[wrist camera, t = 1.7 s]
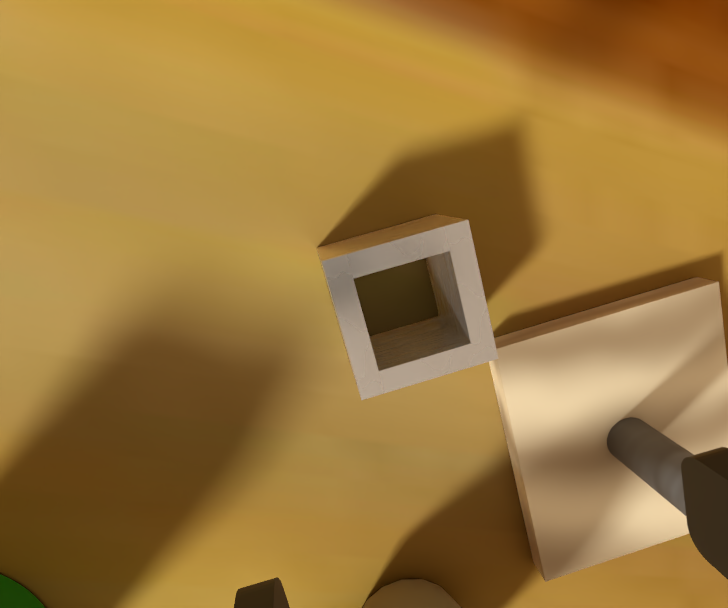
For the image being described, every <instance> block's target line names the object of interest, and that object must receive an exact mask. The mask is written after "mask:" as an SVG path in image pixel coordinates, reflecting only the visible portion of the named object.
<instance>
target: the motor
mask: <svg viewBox="0 0 728 608" xmlns="http://www.w3.org/2000/svg"><path fill="white" fill-rule="evenodd" d="M0 608H45V607H44V606H43V604H42V603H41V602H40V601H39V600H38V599H37V598H36V597H35V596H34V595H33V594H32V593H31V592H29V591H28V590H27V589H26V588H24V587H23V586H21V585H20V584H18V583H17V582H15V581H13V580H11V579H9V578H8V577H5V576H3V575H1V574H0Z"/></svg>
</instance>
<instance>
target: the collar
mask: <svg viewBox="0 0 728 608" xmlns="http://www.w3.org/2000/svg"><path fill="white" fill-rule="evenodd" d="M317 251H318V254H319V258H320V261H321V265H322V268H323V272H324V275H325V279H326V282H327V286H328V289H329V292H330V296H331V299H332V303H333V306H334V310H335V313H336V317H337V320H338V324H339V327H340V330H341V334H342V337H343V341H344V344H345V348H346V351H347V355H348V358H349V362H350V365H351V368H352V371H353V374H354V377H355V381H356V384H357V387H358V390H359V393H360V396H361V399H362V400H364V399H367V398H370V397H374V396H377V395H380V394H384V393H387V392H390V391H394V390H397V389H400V388H403V387H407V386H410V385H413V384H417V383H420V382H423V381H426V380H430V379H433V378H436V377H440V376H443V375H446V374H449V373H453V372H456V371H459V370H463V369H466V368H469V367H472V366H476V365H479V364H482V363H486V362H489V361H492V360H496V359H498V354H497V350H496V345H495V341H494V336H493V331H492V327H491V322H490V317H489V313H488V308H487V304H486V299H485V294H484V290H483V285H482V280H481V276H480V271H479V267H478V262H477V257H476V253H475V248H474V244H473V239H472V234H471V230H470V225H469V220H468V219H462V218H456V217H450V216H444V215H438V214H434V215H431V216H427V217H423V218H420V219H416V220H413V221H409V222H406V223H402V224H399V225H395V226H392V227H388V228H385V229H381V230H377V231H374V232H370V233H367V234H363V235H360V236H356V237H353V238H349V239H346V240H342V241H339V242H335V243H332V244H328V245H324V246H321V247H317ZM423 258H425V259H426V263H427V267H428V272H429V276H430V280H431V284H432V288H433V292H434V297H435V301H436V305H437V309H438V313H439V316H437V317H433V318H430V319H427V320H423V321H420V322H416V323H413V324H410V325H406V326H403V327H400V328H396V329H393V330H389V331H386V332H383V333H379V334H376V335H372V336H369V334H368V330H367V327H366V323H365V320H364V316H363V312H362V309H361V305H360V302H359V298H358V294H357V291H356V287H355V283H354V280H353V279H354V278H357V277H361V276H364V275H368V274H371V273H375V272H378V271H382V270H385V269H389V268H392V267H396V266H399V265H403V264H406V263H409V262H413V261H416V260H420V259H423Z"/></svg>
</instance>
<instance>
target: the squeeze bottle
mask: <svg viewBox="0 0 728 608" xmlns="http://www.w3.org/2000/svg"><path fill="white" fill-rule="evenodd" d="M363 608H461V607H460V606H459V604H458V603H457V602H456V601H455V600H454V599H453V598H452V597H451V596H450V595H449V594H448V593H447V592H446V591H445V590H444V589H443V588H442V587H440V586H439V585H437V584H434V583H431V582H429V581H426V580H423V579H404V580H399V581H397V582H394V583H391V584H389V585H386V586H384V587H382V588H381V589H379V590H378V591H377V592H376V593H375V594H373V595H372V596H371V597H370V598H369V599H368V600H367V601H366V603H365V604H364V606H363Z"/></svg>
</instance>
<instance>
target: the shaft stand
mask: <svg viewBox="0 0 728 608" xmlns="http://www.w3.org/2000/svg"><path fill="white" fill-rule="evenodd" d="M494 341H495V345H496V350H497V354H498V359H496V360H492V361H489V364H490V368H491V373H492V377H493V382H494V386H495V391H496V395H497V400H498V404H499V409H500V414H501V418H502V423H503V427H504V432H505V436H506V441H507V445H508V450H509V454H510V459H511V463H512V468H513V472H514V477H515V481H516V486H517V490H518V495H519V499H520V504H521V508H522V513H523V517H524V522H525V526H526V531H527V535H528V540H529V544H530V549H531V554H532V558H533V563H534V564H535V566H536V568H537V569H538V571H539V572H540V574H541V575H542V577H543V578H544V580H545V582H546V581H549V580H552V579H555V578H558V577H561V576H564V575H567V574H570V573H573V572H576V571H579V570H582V569H585V568H588V567H590V566H593V565H596V564H599V563H602V562H605V561H608V560H611V559H614V558H617V557H620V556H623V555H626V554H629V553H632V552H635V551H638V550H641V549H644V548H647V547H650V546H653V545H656V544H659V543H662V542H665V541H668V540H671V539H674V538H677V537H680V536H683V535H686V534H689V530H688V526H687V518H686V509H685V500H684V491H683V482H682V473H681V463H682V461H683V459H684V458H686V457H689V456H693V455H696V454H699V453H703V452H706V451H709V450H713V449H716V448H720V447H726V448H728V364H727V355H726V345H725V336H724V326H723V317H722V307H721V298H720V288H719V282H718V281H713V280H709V279H704V278H699V277H695V278H692V279H689V280H685V281H682V282H679V283H675V284H672V285H669V286H665V287H662V288H659V289H655V290H652V291H649V292H645V293H642V294H639V295H635V296H632V297H629V298H625V299H622V300H619V301H615V302H612V303H609V304H605V305H602V306H599V307H595V308H592V309H589V310H586V311H582V312H579V313H576V314H572V315H569V316H566V317H562V318H559V319H556V320H552V321H549V322H546V323H542V324H539V325H536V326H532V327H529V328H526V329H522V330H519V331H516V332H512V333H509V334H506V335H502V336H499V337H496V338H494Z"/></svg>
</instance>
